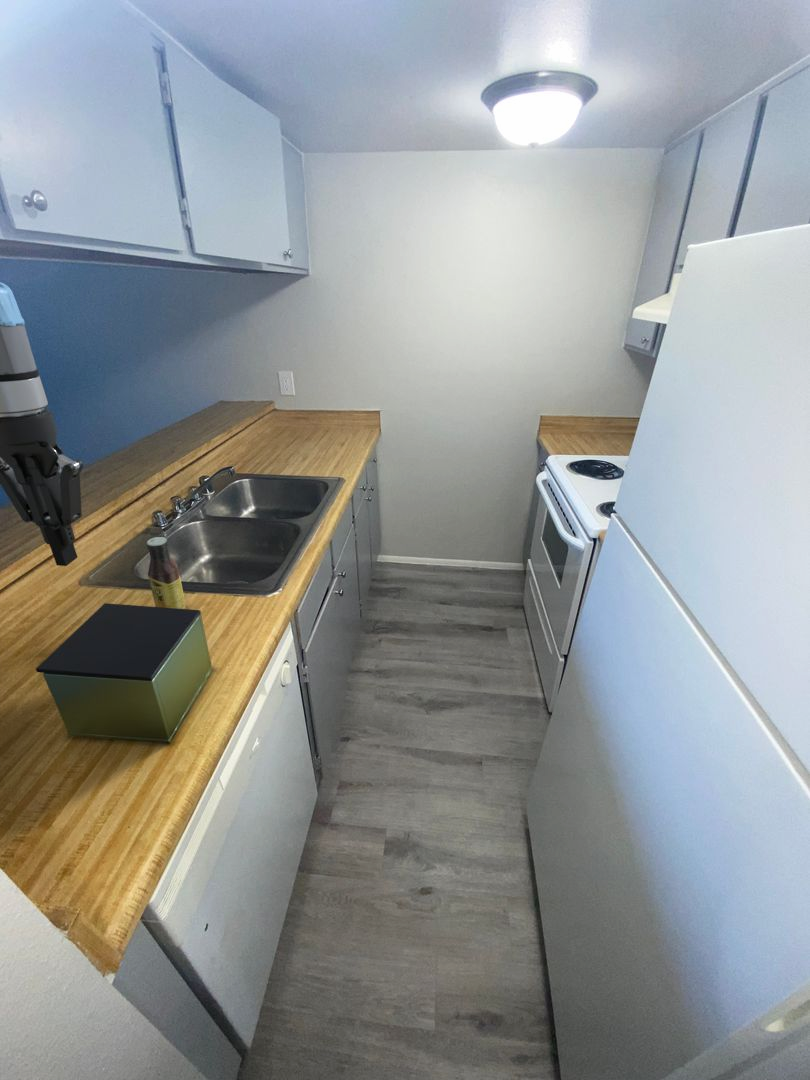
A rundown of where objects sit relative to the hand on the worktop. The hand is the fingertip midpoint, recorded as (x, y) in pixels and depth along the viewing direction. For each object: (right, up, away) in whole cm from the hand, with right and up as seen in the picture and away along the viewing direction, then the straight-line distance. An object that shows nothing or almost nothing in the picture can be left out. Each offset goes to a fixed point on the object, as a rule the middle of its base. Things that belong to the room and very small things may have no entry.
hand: (67, 561), depth 74 cm
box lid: (+5, -14, +7) cm, 17 cm away
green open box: (+5, -27, +14) cm, 31 cm away
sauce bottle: (-2, -14, +37) cm, 40 cm away
